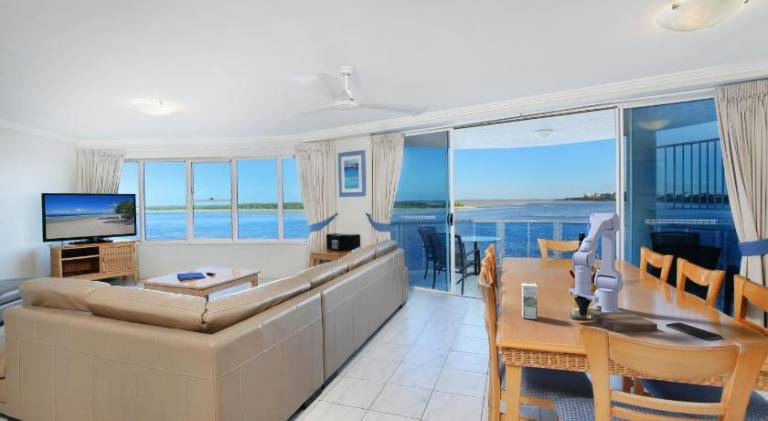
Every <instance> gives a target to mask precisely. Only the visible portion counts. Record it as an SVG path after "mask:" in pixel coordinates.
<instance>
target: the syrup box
mask: <svg viewBox="0 0 768 421" xmlns="http://www.w3.org/2000/svg"><path fill="white" fill-rule="evenodd" d="M521 316H522V319H523V318H525V320H535V319H536V321H537V320H538V285H537V283H536V282H521Z"/></svg>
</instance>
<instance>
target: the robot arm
mask: <svg viewBox="0 0 768 421" xmlns="http://www.w3.org/2000/svg"><path fill="white" fill-rule="evenodd" d="M589 224H590V229H589V233H588V236H587V237H585V238H583V240H582V242H581V245H580V246H579V248H578V250H577V251H576V252H573V254H572V259H571V260H572V261H571V262H572V264H573V265H572V266H573V269H574V276H575V277H574V287H573V288H572V287H571V288H568V293H569V294H572V295H574V296H576V297H574V302H576V305H577V307H578V308H579V313H580V315H581V316H586V315H587V309H588V307H590V304H591V303H594V305H592V307H596V306H601V312H624V311H623V310H620V308H619V292H621V291H622V290H623V286H624V279H623V274H622V273H621V272H619V271H618V270H617V269H616V268H615V262H616V261H615V258H616V254H615V252H616V244H615V243H616V232H619V231H620V217H619V215H618V213H616V212H592V213H591V214H590V215H589ZM600 237H601V268H600V269H598V270H596V271H595V276H594V286H595V287H596V288H597V289H595V291H594V293H592V267H593V266H594V264H595V258H596V254H595V253H596V252H597V249H598V247H599V242H598V240H599V238H600Z"/></svg>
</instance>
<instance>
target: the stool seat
mask: <svg viewBox="0 0 768 421" xmlns="http://www.w3.org/2000/svg"><path fill="white" fill-rule="evenodd" d="M590 318H591V320H593V321H595V322H596V323H598V324H600V325H602V326H603V327H605V328H607V329H609V330H610V331H613V332H614V333H628V332H629V333H632V332H634V333H635V332H657V331H658V324H657V323H655V322H653V321H650V320H648V319H646V318H645V317H642V316H639V315H638V314H636V313H633V312H630V311H623V312H603V311H601V314H600V315H590Z"/></svg>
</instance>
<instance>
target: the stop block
mask: <svg viewBox="0 0 768 421" xmlns="http://www.w3.org/2000/svg"><path fill="white" fill-rule="evenodd" d="M587 317H588V316H578V317H574V316H572V315H570V314H569V319H571V320H587Z"/></svg>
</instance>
